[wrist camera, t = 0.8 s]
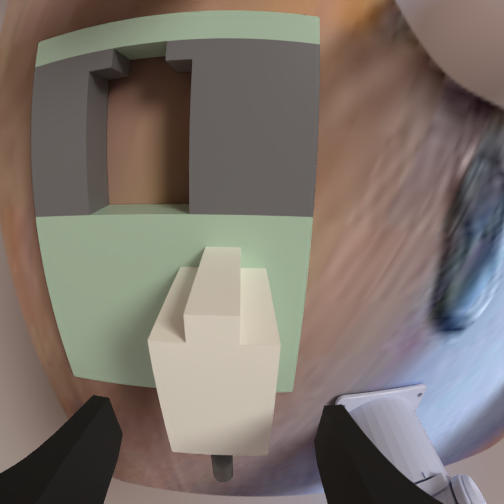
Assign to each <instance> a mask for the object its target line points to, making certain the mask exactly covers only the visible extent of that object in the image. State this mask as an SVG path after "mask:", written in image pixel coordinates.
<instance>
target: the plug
mask: <svg viewBox="0 0 504 504" xmlns="http://www.w3.org/2000/svg"><path fill="white" fill-rule="evenodd" d="M148 347H149V352H150V358H151V363H152V368H153V373H154V378H155V383H156V388H157V393H158V397H159V402H160V406H161V410H162V414H163V418H164V422H165V426H166V430H167V434H168V438H169V442H170V445H171V449H172V452H182V453H194V454H210V455H211V459H212V467H213V474H214V477H215V479H216V480H218V481H219V482H228V481H229V480H231V478H232V477H233V457H232V455H268V452H269V444H270V436H271V428H272V420H273V412H274V404H275V395H276V386H277V377H278V367H279V358H280V348H281V343H280V338H279V333H278V328H277V322H276V317H275V312H274V307H273V301H272V296H271V291H270V286H269V281H268V275H267V270H266V268H241V247H205V250H204V252H203V255H202V258H201V261H200V264H199V267H180V269H179V271H178V273H177V275H176V278H175V280H174V282H173V284H172V286H171V288H170V291H169V293H168V295H167V297H166V299H165V302H164V304H163V306H162V308H161V311H160V313H159V315H158V317H157V320H156V322H155V324H154V327H153V329H152V331H151V334H150V336H149V338H148Z"/></svg>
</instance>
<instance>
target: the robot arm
mask: <svg viewBox="0 0 504 504" xmlns="http://www.w3.org/2000/svg"><path fill="white" fill-rule="evenodd" d="M425 391H426V386H425V384H418V385H412V386H407V387H401V388H395V389H388V390H382V391H375V392H367V393H359V394H350V395H342V396H340V397H338V398H337V400H336V402H335V405H329V406H324V409H323V412H322V416H321V420H320V423H319V427H318V430H317V434H316V437H315V440H314V442H315V450H316V458H317V465H318V469H319V473H320V477H321V481H322V484H323V488H324V492H325V495H326V499H327V503H328V504H487V503H486V501H485V499H484V498H483V496H482V494H481V492H480V491H479V489H478V487H477V486H476V484H475V483H474V481H473V480H472V479H471V477H469V476H466V475H463V476H462V475H461V474H458V475H456V476H454V477H453V478H451V477H450V476H448V474H447V472H446V470H445V468H444V466H443V464H442V462H441V460H440V458H439V456H438V454H437V452H436V450H435V448H434V446H433V444H432V442H431V440H430V439H429V437H428V435H427V433H426V431H425V429H424V427H423V426H422V424H421V422H420V420H419V418H418V416H417V415H416V413H415V411H416V409H417V407H418V405H419V403H420V401H421V399H422V397H423V395H424V393H425ZM122 434H123V433H122V431H121V428H120V426H119V423H118V421H117V418H116V416H115V413H114V410H113V408H112V405H111V402H110V399H109V398H107V397H101V396H95V395H93V396H92V397H91V398H90V399H89V400H88V401H87V402H86V403H85V404H84V405H83V406H82V407H81V408H80V409H79V410H78V411H77V412H76V413H75V414H74V415H73V416H72V417H71V418H70V419H69V420H68V421H67V422H66V423H65V424H64V425H63V426H62V427H61V428H60V429H59V430H58V431H56V433H55V434H53V435H52V436H51V437H50V438H49V439H48V440H47V441H45V442H44V443H43V444H42V445H41V446H40V447H39V448H37V449H36V450H35V451H33V452H32V453H31V454H30V455H28V456H27V457H26V458H24V459H23V460H21V461H20V462H18V463H17V464H16V465H14V466H12V467H11V468H9V469H7V470H5V471H4V472H2V473H0V504H103V503H104V500H105V497H106V494H107V490H108V487H109V484H110V481H111V478H112V475H113V472H114V469H115V466H116V463H117V460H118V456H119V451H120V446H121V440H122Z"/></svg>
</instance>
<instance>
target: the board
mask: <svg viewBox="0 0 504 504" xmlns="http://www.w3.org/2000/svg"><path fill="white" fill-rule="evenodd" d="M162 56H166V62H167V63H168V64H169V65H170V66H171V67H172V68H173V69H174V70H175V71H176V72H192V77H191V99H190V133H189V204H128V205H109V196H108V175H107V110H108V89H109V80H111V79H118V78H125V77H129V74H130V61H131V60H135V59H143V58H152V57H162ZM319 85H320V19H319V17H316V16H308V15H300V14H291V13H279V12H265V11H196V12H181V13H170V14H161V15H153V16H145V17H138V18H132V19H126V20H121V21H116V22H111V23H106V24H101V25H97V26H92V27H88V28H84V29H80V30H77V31H73V32H69V33H66V34H63V35H59V36H56V37H53V38H50V39H47V40H44V41H41V42H39V44H38V50H37V57H36V64H35V73H34V83H33V95H32V113H31V165H32V184H33V196H34V207H35V216H36V224H37V231H38V238H39V244H40V250H41V256H42V262H43V267H44V272H45V277H46V281H47V286H48V290H49V295H50V299H51V303H52V307H53V311H54V314H55V318H56V322H57V325H58V329H59V332H60V335H61V339H62V342H63V345H64V348H65V351H66V354H67V357H68V360H69V363H70V366H71V369H72V371H73V374H74V376H76V377H81V378H87V379H92V380H98V381H105V382H111V383H118V384H125V385H133V386H142V387H151V388H156V383H155V378H154V373H153V368H152V363H151V358H150V352H149V347H148V338H149V336H150V334H151V331H152V329H153V327H154V324H155V322H156V320H157V317H158V315H159V313H160V311H161V308H162V306H163V304H164V302H165V299H166V297H167V295H168V293H169V291H170V288H171V286H172V284H173V282H174V280H175V278H176V275H177V273H178V271H179V269H180V267H199V264H200V261H201V258H202V255H203V252H204V250H205V247H241V268H266V270H267V275H268V281H269V286H270V291H271V296H272V301H273V307H274V312H275V317H276V322H277V328H278V333H279V338H280V343H281V348H280V358H279V367H278V377H277V386H276V392H292V391H293V384H294V378H295V371H296V364H297V357H298V350H299V343H300V335H301V328H302V320H303V312H304V303H305V294H306V285H307V276H308V266H309V256H310V246H311V234H312V223H313V210H314V196H315V181H316V165H317V146H318V122H319Z"/></svg>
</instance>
